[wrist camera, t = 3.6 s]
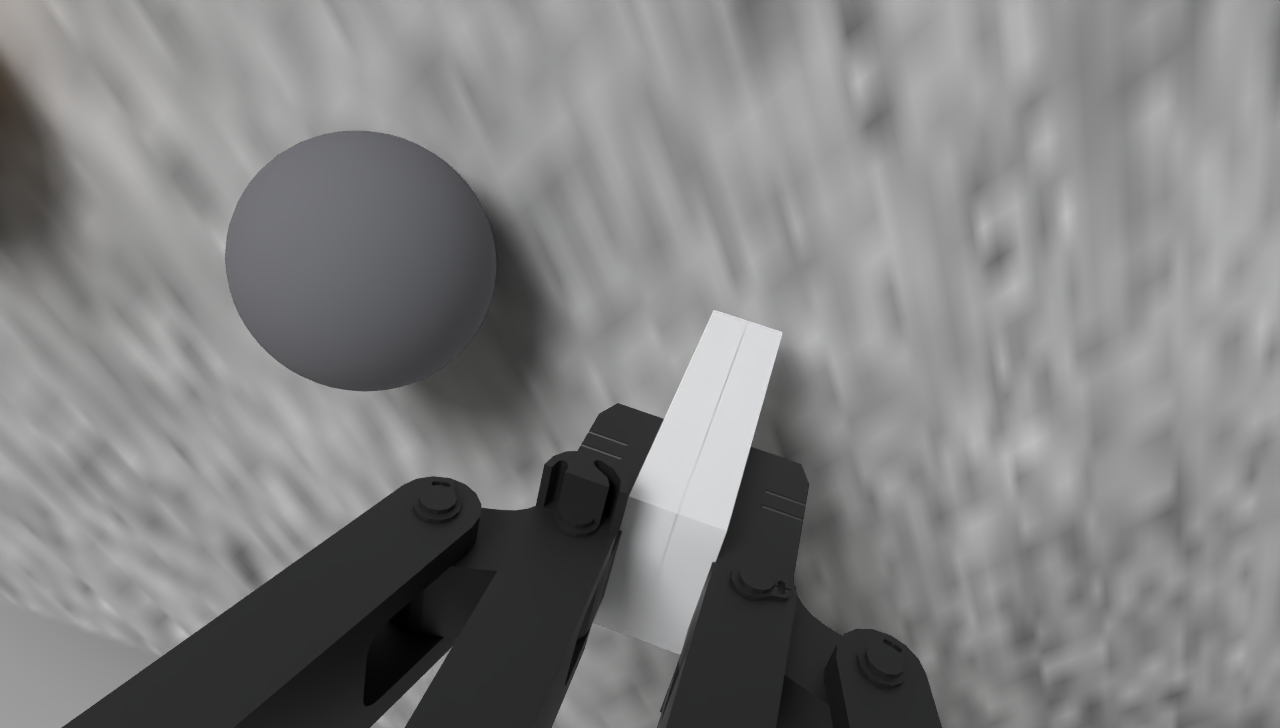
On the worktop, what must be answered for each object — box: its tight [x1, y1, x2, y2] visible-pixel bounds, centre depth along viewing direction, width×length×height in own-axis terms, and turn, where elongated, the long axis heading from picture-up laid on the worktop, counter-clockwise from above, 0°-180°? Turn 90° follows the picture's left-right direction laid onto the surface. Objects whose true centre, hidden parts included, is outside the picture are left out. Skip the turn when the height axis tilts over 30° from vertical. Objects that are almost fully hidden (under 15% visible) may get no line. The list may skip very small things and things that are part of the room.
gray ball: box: [225, 131, 497, 391], centre depth 19 cm, size 6×6×6 cm
